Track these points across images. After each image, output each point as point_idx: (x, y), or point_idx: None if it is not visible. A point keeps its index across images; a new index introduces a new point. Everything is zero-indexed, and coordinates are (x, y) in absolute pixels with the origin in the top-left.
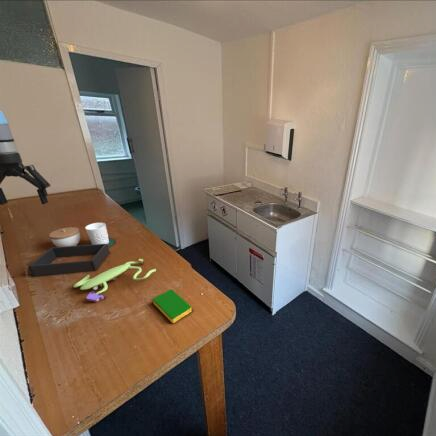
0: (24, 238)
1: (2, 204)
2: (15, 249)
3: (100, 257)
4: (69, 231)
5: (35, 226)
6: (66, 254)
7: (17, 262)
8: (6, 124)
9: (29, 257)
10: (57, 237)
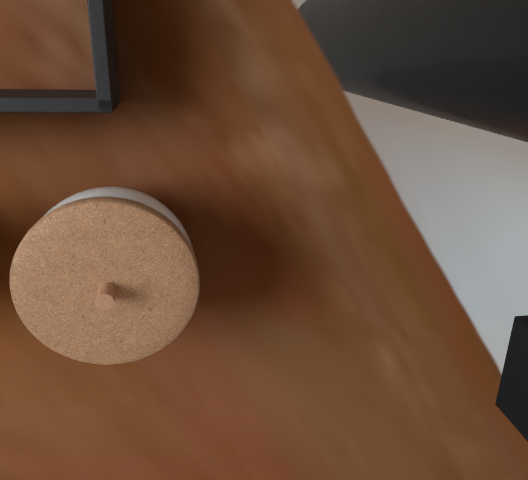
0: (412, 346)
1: (520, 320)
2: (393, 229)
3: None
4: (66, 291)
5: (425, 465)
6: (33, 90)
7: (303, 67)
8: None
9: (271, 120)
10: (99, 201)
